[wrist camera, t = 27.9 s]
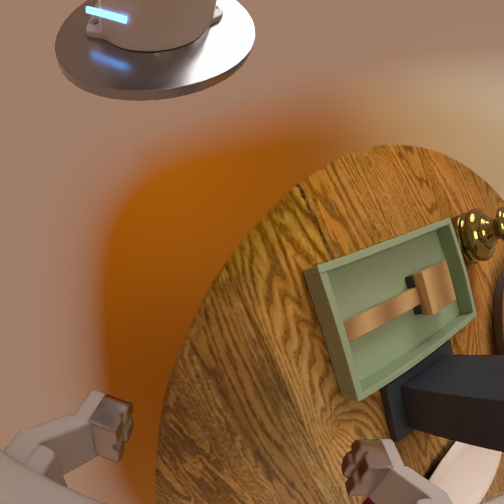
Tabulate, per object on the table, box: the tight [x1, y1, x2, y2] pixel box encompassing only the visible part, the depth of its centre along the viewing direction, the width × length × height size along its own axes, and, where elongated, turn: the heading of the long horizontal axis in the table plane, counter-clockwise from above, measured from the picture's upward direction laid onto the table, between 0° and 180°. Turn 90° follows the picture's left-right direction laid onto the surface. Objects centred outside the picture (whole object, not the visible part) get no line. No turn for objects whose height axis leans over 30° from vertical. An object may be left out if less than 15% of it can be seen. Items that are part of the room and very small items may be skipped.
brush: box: [342, 260, 456, 342], centre depth 30 cm, size 16×5×3 cm, turn 109°
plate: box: [428, 441, 502, 504], centre depth 30 cm, size 25×25×2 cm
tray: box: [303, 217, 477, 402], centre depth 31 cm, size 14×22×3 cm, turn 109°
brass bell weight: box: [451, 207, 504, 265], centre depth 33 cm, size 7×7×10 cm
